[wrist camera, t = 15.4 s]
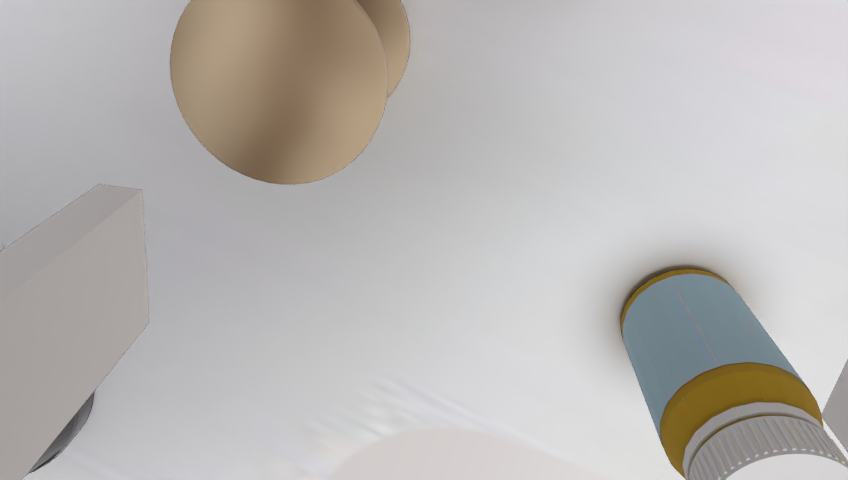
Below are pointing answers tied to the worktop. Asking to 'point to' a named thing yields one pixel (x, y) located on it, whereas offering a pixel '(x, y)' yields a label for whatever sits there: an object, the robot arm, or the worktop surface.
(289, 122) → the bobbin
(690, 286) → the bottle
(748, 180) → the worktop surface
